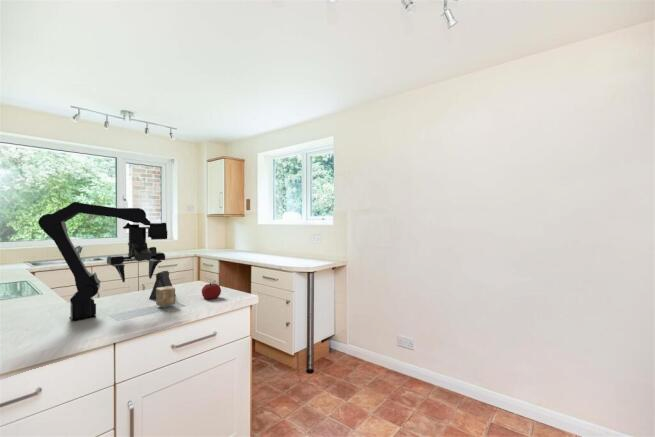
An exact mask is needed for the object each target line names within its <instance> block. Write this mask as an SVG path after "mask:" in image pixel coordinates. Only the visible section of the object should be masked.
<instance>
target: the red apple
mask: <svg viewBox="0 0 655 437" xmlns="http://www.w3.org/2000/svg"><path fill="white" fill-rule="evenodd" d="M221 294H222V289H221V286H220V285H219V284H218V283H212V282H209V283H207V284H205V285H203V287H202V289H201V295H202V297H203V298H204V299H206V300H210V301H211V300H214V299H218V298H219V297H220V295H221Z"/></svg>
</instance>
